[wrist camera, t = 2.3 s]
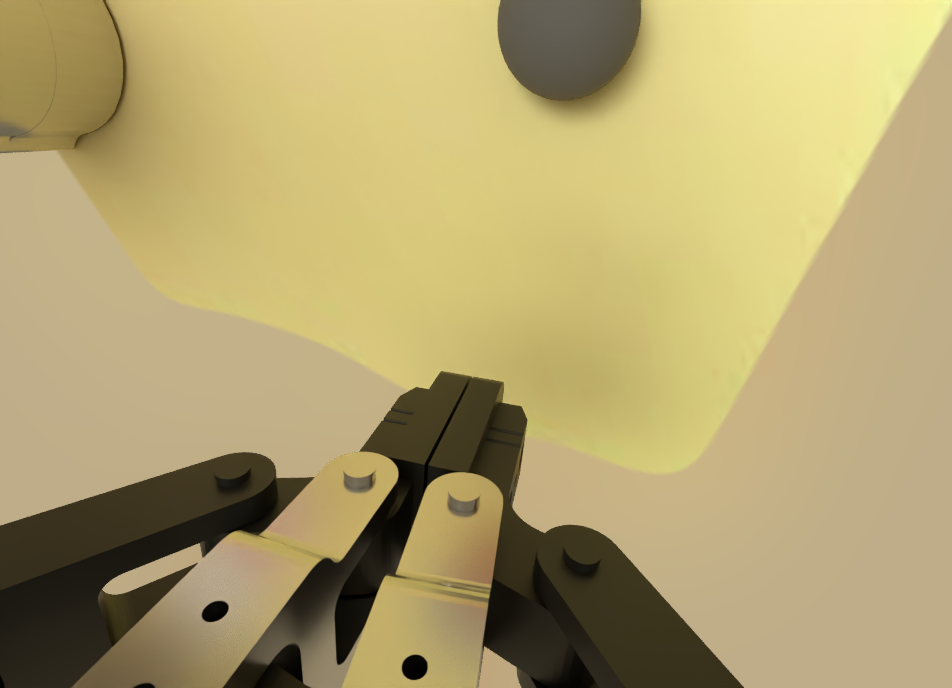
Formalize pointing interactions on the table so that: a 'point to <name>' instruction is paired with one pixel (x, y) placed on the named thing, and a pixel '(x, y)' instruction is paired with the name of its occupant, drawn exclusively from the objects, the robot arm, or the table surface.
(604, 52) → the dark gray ball
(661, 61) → the table surface
